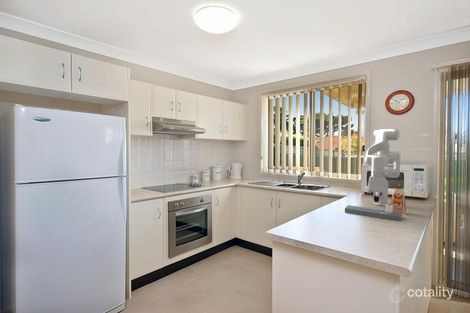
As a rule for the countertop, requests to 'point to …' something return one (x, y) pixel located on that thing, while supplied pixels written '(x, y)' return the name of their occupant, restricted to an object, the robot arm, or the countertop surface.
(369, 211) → the bar
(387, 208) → the fader
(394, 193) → the milk carton
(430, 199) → the countertop surface
